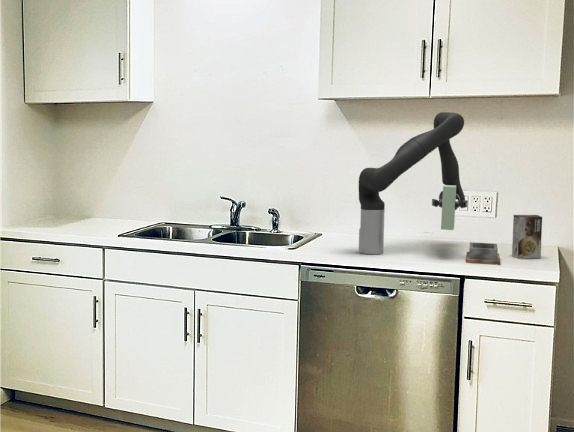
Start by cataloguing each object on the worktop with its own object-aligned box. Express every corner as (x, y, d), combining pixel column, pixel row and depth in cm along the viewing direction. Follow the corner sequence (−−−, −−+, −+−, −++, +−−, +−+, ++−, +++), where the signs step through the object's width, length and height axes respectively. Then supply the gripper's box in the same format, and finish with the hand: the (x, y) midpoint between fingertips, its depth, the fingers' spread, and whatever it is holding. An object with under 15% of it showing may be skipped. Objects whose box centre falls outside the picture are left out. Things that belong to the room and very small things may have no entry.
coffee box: (534, 255, 263) (536, 214, 261) (540, 258, 257) (543, 216, 255) (511, 255, 263) (513, 214, 261) (517, 258, 257) (519, 216, 255)
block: (440, 229, 252) (443, 186, 250) (442, 226, 261) (444, 185, 259) (453, 230, 251) (455, 187, 249) (454, 227, 260) (456, 185, 258)
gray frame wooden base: (465, 262, 247) (466, 248, 246) (466, 254, 264) (467, 241, 263) (500, 264, 244) (500, 250, 243) (498, 256, 261) (499, 243, 260)
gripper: (432, 191, 270) (429, 194, 254) (469, 192, 266) (469, 195, 250) (431, 209, 271) (428, 214, 254) (468, 211, 267) (467, 216, 251)
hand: (448, 205), depth 252 cm, fingers closed on block, 4 cm apart
